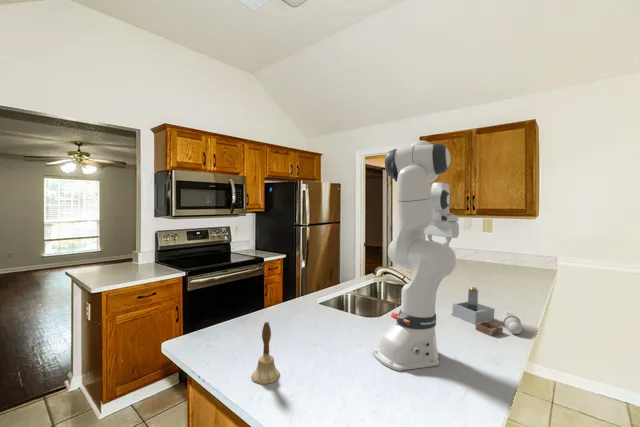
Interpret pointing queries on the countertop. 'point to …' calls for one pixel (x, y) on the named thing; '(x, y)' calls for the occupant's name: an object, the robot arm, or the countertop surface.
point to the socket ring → (489, 328)
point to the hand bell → (265, 361)
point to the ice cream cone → (512, 323)
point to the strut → (473, 299)
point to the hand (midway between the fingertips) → (438, 245)
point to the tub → (473, 313)
